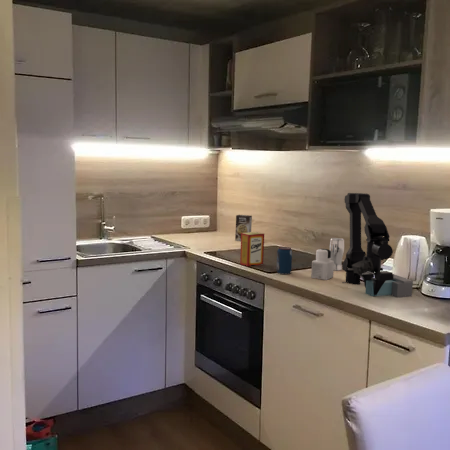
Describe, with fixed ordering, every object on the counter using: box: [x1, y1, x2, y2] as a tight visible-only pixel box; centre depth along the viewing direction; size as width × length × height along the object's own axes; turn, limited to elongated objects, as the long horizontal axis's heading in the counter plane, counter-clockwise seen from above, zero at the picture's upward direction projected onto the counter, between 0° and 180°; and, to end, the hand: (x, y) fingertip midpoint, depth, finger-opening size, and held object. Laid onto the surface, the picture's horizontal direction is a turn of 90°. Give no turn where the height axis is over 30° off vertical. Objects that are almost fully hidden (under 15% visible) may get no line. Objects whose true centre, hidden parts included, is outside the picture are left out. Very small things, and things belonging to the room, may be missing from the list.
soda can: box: [275, 246, 293, 275], centre depth 253 cm, size 7×7×12 cm
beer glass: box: [328, 237, 345, 272], centre depth 265 cm, size 7×7×15 cm
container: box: [310, 248, 335, 281], centre depth 246 cm, size 8×8×13 cm
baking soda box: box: [239, 231, 265, 267], centre depth 271 cm, size 10×6×16 cm
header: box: [390, 273, 414, 298], centre depth 217 cm, size 12×7×7 cm, turn 20°
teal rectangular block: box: [364, 280, 396, 297], centre depth 216 cm, size 5×14×5 cm, turn 110°
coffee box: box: [234, 214, 253, 242], centre depth 345 cm, size 9×6×16 cm
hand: (371, 293), depth 214 cm, fingers closed on teal rectangular block, 5 cm apart
